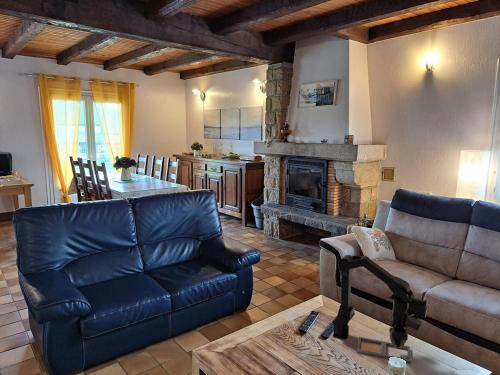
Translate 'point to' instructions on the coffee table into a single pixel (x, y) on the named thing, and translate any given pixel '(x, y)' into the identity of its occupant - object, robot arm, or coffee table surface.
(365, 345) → the grey double frame
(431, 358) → the coffee table surface
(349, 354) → the coffee table surface
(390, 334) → the bronze ornate bell
